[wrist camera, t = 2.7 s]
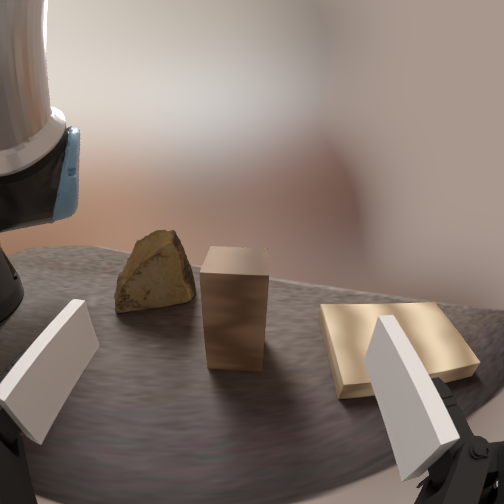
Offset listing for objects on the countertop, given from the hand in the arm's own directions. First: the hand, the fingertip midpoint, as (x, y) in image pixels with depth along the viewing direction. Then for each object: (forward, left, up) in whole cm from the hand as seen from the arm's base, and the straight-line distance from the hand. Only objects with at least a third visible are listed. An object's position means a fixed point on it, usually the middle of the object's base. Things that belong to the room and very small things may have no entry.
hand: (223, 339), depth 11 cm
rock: (-11, +19, -12) cm, 25 cm away
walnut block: (0, +11, -12) cm, 16 cm away
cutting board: (+17, +11, -12) cm, 23 cm away
